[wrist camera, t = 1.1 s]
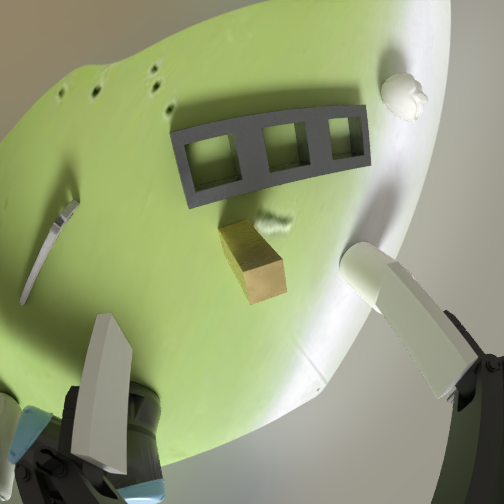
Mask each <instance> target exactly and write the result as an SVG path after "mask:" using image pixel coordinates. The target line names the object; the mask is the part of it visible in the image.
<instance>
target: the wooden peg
mask: <svg viewBox="0 0 504 504" xmlns="http://www.w3.org/2000/svg"><path fill="white" fill-rule="evenodd" d="M218 232H219V236H220V239H221V243H222V247H223V251H224V255H225V257H226V259H227V261H228V263H229V265H230V266H231V268H232V270H233V272H234V274H235V276H236V278H237V280H238V282H239V284H240V286H241V287H242V289H243V291H244V293H245V295H246V297H247V299H248V301H249V303H250V304H251V305H252V304H255V303H258V302H260V301H263V300H266V299H269V298H272V297H275V296H277V295H280V294H283V293H286V292H287V288H286V281H285V273H284V266H283V259H282V258H281V257H280V256H279V255H278V254H277V253H276V251H275V250H274V249H273V248H272V247H271V246H270V245H269V244H268V243H267V242H266V241H265V239H264V238H263V237H262V236H261V235H260V234H259V233H258V232H257V231H256V230H255V229H254V227H253V226H252V225H251V224H250V223H249V222H248V221H247V220H244V221H241V222H237V223H234V224H230V225H227V226H224V227H220V228H218Z"/></svg>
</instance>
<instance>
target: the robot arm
mask: <svg viewBox="0 0 504 504" xmlns="http://www.w3.org/2000/svg"><path fill="white" fill-rule="evenodd" d="M375 305H376V306H377V307H378V309H379V310H380V312H381V313H382V315H383V316H384V317H385V319H386V320H387V322H388V323H389V324H390V326H391V327H392V329H393V330H394V332H395V333H396V334H397V336H398V338H399V339H400V341H401V342H402V344H403V345H404V347H405V348H406V350H407V351H408V353H409V354H410V356H411V357H412V359H413V361H414V362H415V364H416V365H417V367H418V368H419V370H420V372H421V373H422V375H423V377H424V378H425V380H426V381H427V383H428V385H429V386H430V388H431V390H432V391H433V393H434V395H435V396H436V398H437V399H439V398H441V397H442V396H444V395H445V394H447V393H448V392H449V391H450V390H451V389H452V388H453V387H454V386H456V388H457V389H456V390H455V391H454V392H453V393H452V394H451V395H450V396H449V398H448V399H447V402H449V401H450V400H451V399H452V398H453V397H454V399H453V400H452V402H451V403H453V411H452V419H451V425H450V431H449V437H448V443H447V447H446V452H445V456H444V461H443V465H442V469H441V472H440V476H439V480H438V483H437V486H436V490H435V493H434V496H433V499H432V501H431V504H504V356H502V357H496V356H495V355H493V354H487V355H486V354H484V352H483V351H482V350H481V348H479V346H478V344H477V343H476V342H475V341H474V339H473V338H472V337H471V335H470V334H469V333H468V332H467V331H466V329H465V328H464V327H463V325H461V323H460V322H459V320H458V319H457V318H456V317H455V316H454V315H453V314H451V313H450V312H449V311H447V310H445V311H442V310H441V309H440V307H439V306H438V305H437V304H436V303H435V302H434V300H433V299H432V298H431V297H430V296H429V295H428V294H427V292H426V291H425V290H424V289H423V288H422V287H421V286H420V285H419V284H418V282H417V281H416V280H415V279H414V278H413V277H412V276H411V275H410V274H409V273H408V272H407V271H406V269H405V268H404V267H403V266H402V265H401V264H400V263H399V262H394V263H390V264H386V268H385V272H384V276H383V280H382V283H381V287H380V290H379V294H378V297H377V300H376V304H375ZM132 354H133V350H132V348H131V346H130V345H129V343H128V341H127V340H126V338H125V336H124V334H123V333H122V331H121V329H120V327H119V326H118V324H117V322H116V320H115V318H114V316H113V314H112V313H105V314H97V317H96V321H95V324H94V328H93V332H92V335H91V339H90V343H89V347H88V351H87V355H86V359H85V364H84V368H83V373H82V378H81V383H80V386H71V388H70V389H69V391H68V393H67V395H66V397H65V403H64V409H63V414H62V416H63V418H62V419H61V418H58V417H56V416H54V415H53V413H48V412H46V411H44V410H41V409H39V408H37V407H35V406H27V407H25V408H24V409H23V411H22V414H21V416H20V419H19V421H18V424H17V427H16V430H15V433H14V436H13V439H12V442H11V445H10V449H9V452H8V456H7V459H8V461H9V462H10V463H11V464H13V465H14V464H15V469H14V475H15V478H16V482H17V486H18V489H19V492H20V496H21V499H22V502H23V503H22V504H156V503H159V502H161V501H162V500H163V499H164V497H165V488H164V479H163V476H162V471H161V466H160V460H159V455H158V449H157V443H156V431H157V427H158V423H159V419H160V415H161V406H160V400H159V398H158V396H157V395H156V394H155V393H154V392H153V391H151V390H150V389H148V388H146V387H144V386H142V385H140V384H137V383H133V382H130V372H131V363H132Z"/></svg>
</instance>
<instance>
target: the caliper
mask: <svg viewBox="0 0 504 504" xmlns="http://www.w3.org/2000/svg"><path fill="white" fill-rule="evenodd" d="M79 204H80V203H78V202H77V201H76V200H75V199H74V200H73V201H71V202H70V203H69V204H68V205H67V206H66V207H65V209H64V210H63V211H62V212H61V213H60V215H59V216H58V218H57V219H56V220H55V221H54V224H53V226H52V227H51V228H50V232H49V234H48V236H47V238H46V240H45V242H44V244H43V246H42V248H41V250H40V252H39V255H38V257H37V260H36V262H35V264H34V266H33V268H32V271H31V273H30V275H29V277H28V280H27V282H26V285H25V287H24V290H23V292H22V295H21V297H20V300H19V303H20V304H22V305H23V306H24V304H25V302H26V300H27V298H28V295H29V293H30V291H31V288H32V286H33V284H34V282H35V280H36V277H37V275H38V273H39V271H40V269H41V267H42V265H43V263H44V261H45V259H46V257H47V255H48V253H49V251H50V249H51V248H52V246H53V245H54V243H55V241H56V239H57V238H58V236H59V234H60V232H61V230H62V229H63V227H64V226H65V225H66V223H67V222H68V221H69V219H70V218H71V217H72V215H73V212H74V211H75V210H76V208H77V207H78V206H79Z"/></svg>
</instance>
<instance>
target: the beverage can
mask: <svg viewBox="0 0 504 504" xmlns="http://www.w3.org/2000/svg"><path fill="white" fill-rule="evenodd" d="M394 262H397V261H396V260H394V259H393V258H391V257H390V256H388V255H387V254H385V253H384V252H382V251H381V250H379V249H378V248H376V247H375V246H373V245H372V244H370V243H368V242H359V243H356V244H354V245H353V246H351V247H350V248H349V249H348V250H347V251H346V253H345V254H344V256H343V258H342V260H341V262H340V267H339V273H340V277H341V278H342V280H343V281H344V282H346V283H347V284H348V285H349V286H350V287H351V288H352V289H353V290H354V291H355V292H357V293H358V294H359V295H360V296H361V297H362V298H363V299H364V300H365V301H366V302H367V303H368V304H370V305H371V306H372V307H373V308H374V309H375V310H376V311H377V312H378V313H380V314H382V313H381V312H380V310H379V309H378V307H377V306H376V305H375V304H376V300H377V297H378V294H379V290H380V287H381V283H382V280H383V276H384V272H385V268H386V264H390V263H394ZM401 265H402V264H401ZM402 266H403V265H402ZM403 267H404V268H405V269H406V271H407V272H408V273H409V274H410V275H411V276H412V273H411V271H410V270H409V269H408V268H406V267H405V266H403ZM412 277H413V276H412ZM413 278H414V277H413ZM414 279H415V278H414Z"/></svg>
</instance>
